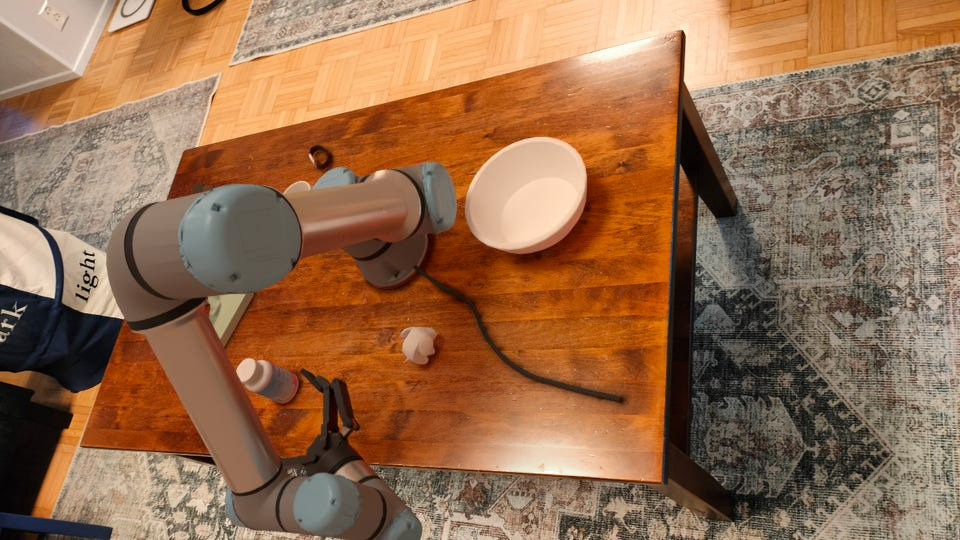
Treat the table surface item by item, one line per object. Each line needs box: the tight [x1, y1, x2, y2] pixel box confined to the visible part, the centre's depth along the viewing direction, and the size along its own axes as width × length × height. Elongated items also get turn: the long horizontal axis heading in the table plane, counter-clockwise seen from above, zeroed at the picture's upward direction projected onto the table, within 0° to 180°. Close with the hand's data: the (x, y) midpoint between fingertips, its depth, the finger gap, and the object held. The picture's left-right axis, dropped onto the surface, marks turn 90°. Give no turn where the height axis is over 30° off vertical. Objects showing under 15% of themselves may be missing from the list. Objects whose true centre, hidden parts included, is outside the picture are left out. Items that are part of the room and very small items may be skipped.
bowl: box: [464, 136, 588, 255], centre depth 115 cm, size 22×22×8 cm
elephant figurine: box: [399, 326, 439, 365], centre depth 114 cm, size 7×8×6 cm
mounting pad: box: [205, 292, 255, 348], centre depth 146 cm, size 18×18×2 cm
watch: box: [308, 144, 332, 171], centre depth 153 cm, size 8×5×4 cm, turn 28°
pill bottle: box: [235, 357, 300, 404], centre depth 123 cm, size 6×6×11 cm
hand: (281, 403), depth 115 cm, fingers open, 13 cm apart
